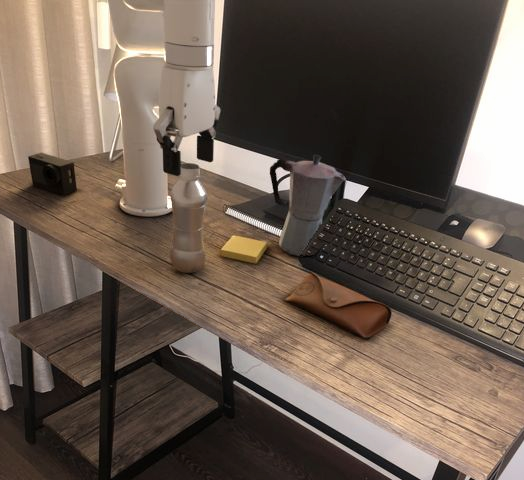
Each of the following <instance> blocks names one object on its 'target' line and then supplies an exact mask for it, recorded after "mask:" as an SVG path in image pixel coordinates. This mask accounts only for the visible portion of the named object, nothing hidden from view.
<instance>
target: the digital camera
mask: <svg viewBox="0 0 524 480" xmlns="http://www.w3.org/2000/svg"><path fill="white" fill-rule="evenodd" d="M27 158H28V164H29V165H28V166H29V170H30V177H31V182H32V185H33V186H35V187H38V188H42V189H44V190H48V191H50V192H52V193H53V192H54V193H56V194H59V195H63V196H65V195H68V194H70V193H73V192H77V191H78V188H77V180H76V171H75V170H76V169H75V163H74V161H71V160H67V159H65V158H61V157H58V156H54V155H52V154H48V153H44V152H38V153H34V154H32V155H28V156H27Z"/></svg>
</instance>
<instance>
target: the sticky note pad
mask: <svg viewBox="0 0 524 480" xmlns="http://www.w3.org/2000/svg"><path fill="white" fill-rule="evenodd" d="M267 249H268V242H267V241H262V240H259V239H254V238H248V237H244V236H239V235H232V236H231V238H229V240H228V241H227V242H226V243H225V244H224V246H223V247H222V248H221V249H220V257H224V258H228V259H233V260H237V261H242V262H246V263H251V264H255V265H256V264H257V263H258V262H259V260H260V258H262V256H263V254H264V253H265V251H266V250H267Z"/></svg>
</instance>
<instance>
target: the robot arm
mask: <svg viewBox="0 0 524 480" xmlns="http://www.w3.org/2000/svg"><path fill="white" fill-rule="evenodd" d="M107 2H108V8H109V9H108V10H109V15H110V20H111V21H110V22H111V26H112V31H113V35H114V39H115V41H116V44H117V45H118V47H119V48H120V49H121V50H123V51H125V52H129V53H141V54H164V56H162V55H161V56H160V55H129V56H125V57H122V58H121V59H119V60H118V61H117V62H116V63H115V65H114V67H113V82H114V89H115V92H116V97H117V102H118V107H119V108H118V109H119V115H120V124H121V138H122V139H121V140H122V153H123V154H122V155H123V170H124V171H123V172H124V179H118V180H117V181H116V184H115V185H114V188H113V189H114V191H116V192H120V193H122V197H121V198H120V199H119V208H120V209H121V210H122V211H123V212H125V213H127V214H129V215H132V216H137V217H159V216H163V215H167V214H169V213H171V212H172V205H171V197H170V196H169V190H168V189H169V188H168V187H169V185H168V184H169V182H168V175H171V176H175V177H178V176H179V175H180V174H181V163H182V161H181V160H182V158H181V156H182V153H181V152H182V151H181V150H179V148H180V145H181V143H182V141H183V138H187V137H191V136H193V135H196V134H198V135H196V159H197V160H198V161H199V160H200V161H203V162H206V163H212V162H214V150H215V140H214V139H215V138H216V136H217V133H216V130H217V128H218V126H219V119H220V115H221V111H222V110H221V107H219V106H218V105H217V104H216V87H215V75H214V54H215V53H214V52H215V51H214V50H215V45H214V44H215V43H214V42H215V11H216V10H215V9H216V6H215V5H216V0H107ZM156 108H158V114H157V113H156V112H155V109H156ZM172 137H174V138H173V140H172V139H171V138H172Z"/></svg>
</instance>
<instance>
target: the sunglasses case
mask: <svg viewBox="0 0 524 480" xmlns="http://www.w3.org/2000/svg"><path fill="white" fill-rule="evenodd" d="M284 301H285V302H287V303H289V304H292V305H295V306H298V307H299V308H302V309H304V310H306V311H307V312H310V313H312V314H314V315H316V316H318V317H320V318H322V319H324V320H326V321H328V322H330V323H332V324H334V325H336V326H338V327H340V328H342V329H344V330H346V331H348V332H350V333H351V334H354V335H357V336H359V337H362V338H364V339H370V338H371V337H373V336H375V335H377V334H379V332H381V331H382V330H384V329H385V328H386V327H388V325H389V323H390V320H391V319H392V308H391V307H390V306H388V305H387V304H384V303H383V302H379V301H377V300H373V299H371V298H369V297H367V296H366V295H363V294H361V293H359V292H357V291H354V290H353V289H350V288H347V287H346V286H344V285H341V284H338V283H336V282H334V281H331V280H328V279H327V278H324V277H322V276H319V275H317V274H316V273H315V272H313V271H308V273H307V274H306V276H305V277H304V278H303V279H302V280H301V282H300V283H299V284H298V285H297V287H296V288H295V289H294V290H293V291H292V293H291V294H290V295H289V296H288V297H286V298H284Z"/></svg>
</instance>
